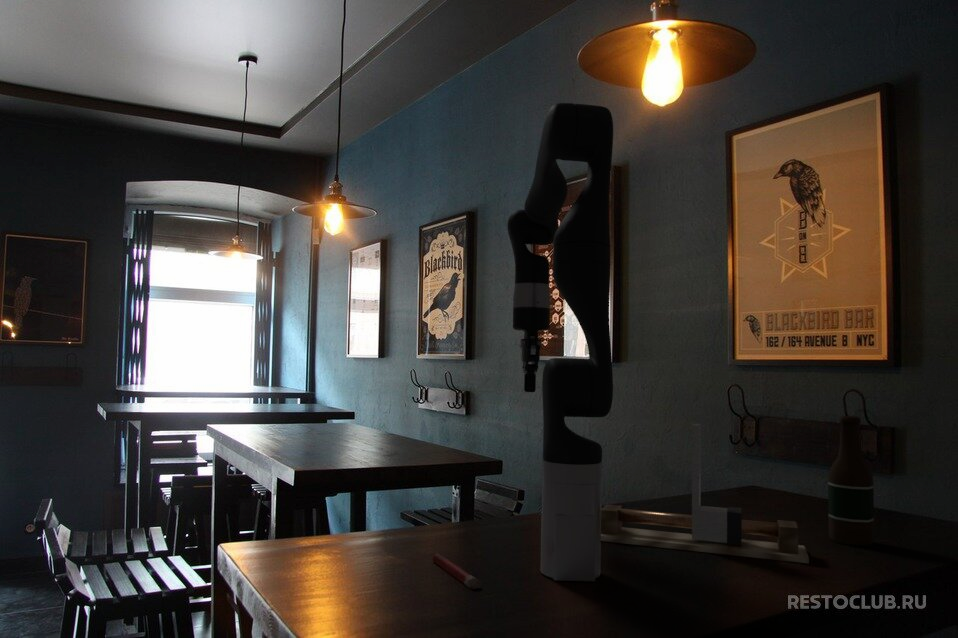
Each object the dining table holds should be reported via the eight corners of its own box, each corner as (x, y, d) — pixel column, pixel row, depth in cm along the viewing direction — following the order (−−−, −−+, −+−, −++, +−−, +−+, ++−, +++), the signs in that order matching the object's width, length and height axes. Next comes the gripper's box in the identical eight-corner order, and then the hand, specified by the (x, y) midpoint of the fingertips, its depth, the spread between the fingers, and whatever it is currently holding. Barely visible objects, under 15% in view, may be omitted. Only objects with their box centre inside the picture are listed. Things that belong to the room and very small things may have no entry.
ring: (727, 544, 126) (727, 512, 126) (727, 537, 131) (727, 506, 131) (741, 545, 125) (741, 513, 125) (741, 539, 130) (741, 508, 131)
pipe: (607, 522, 135) (607, 508, 135) (609, 519, 137) (610, 505, 137) (791, 540, 124) (791, 525, 124) (790, 537, 126) (790, 522, 126)
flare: (470, 592, 101) (470, 579, 101) (432, 564, 114) (432, 553, 114) (480, 590, 101) (480, 578, 101) (441, 563, 115) (442, 552, 115)
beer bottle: (819, 538, 139) (818, 414, 141) (849, 536, 142) (848, 415, 143) (853, 547, 132) (851, 417, 133) (883, 545, 134) (882, 417, 136)
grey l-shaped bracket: (691, 539, 128) (692, 425, 129) (693, 532, 133) (694, 423, 135) (727, 543, 126) (727, 427, 127) (727, 536, 131) (727, 425, 133)
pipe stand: (590, 539, 132) (591, 510, 133) (599, 530, 141) (600, 502, 141) (808, 563, 120) (808, 530, 120) (804, 551, 128) (804, 520, 128)
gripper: (553, 304, 138) (552, 393, 137) (546, 310, 152) (544, 391, 150) (515, 303, 138) (513, 392, 137) (511, 309, 151) (509, 390, 150)
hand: (529, 391), depth 144 cm, fingers closed
